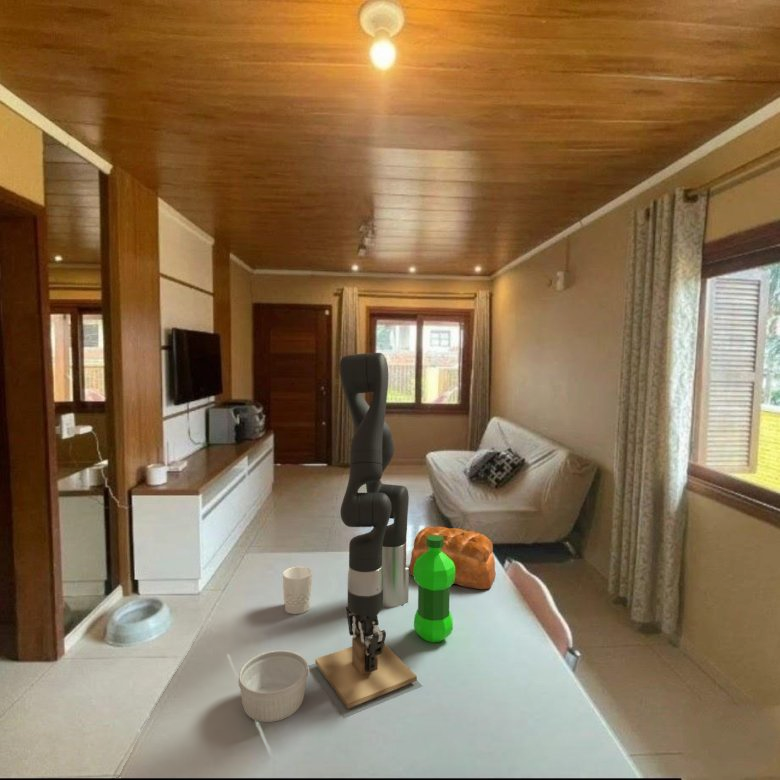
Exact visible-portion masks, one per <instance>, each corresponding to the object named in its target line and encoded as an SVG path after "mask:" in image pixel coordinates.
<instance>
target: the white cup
mask: <svg viewBox="0 0 780 780" xmlns="http://www.w3.org/2000/svg"><path fill="white" fill-rule="evenodd" d="M312 581H313V571H312V569H311V568H310V567H307V566H293V567H289V568H287V569H285V570H284V571H283V573H282V583H283V585H282V586H283V587H282V589H283V600H284V611H285V612H286V613H288V614H292V615H301V614H305V613H306V612H307V611H309V609H310V608H311V597H312V585H313V584H312Z"/></svg>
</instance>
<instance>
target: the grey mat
mask: <svg viewBox="0 0 780 780" xmlns="http://www.w3.org/2000/svg"><path fill="white" fill-rule="evenodd" d="M308 669H309V670H311V672H312V674H313V675H314V676H315V678H316V679H317V680H318V683H319V684H320V685H321V687H322V688H323V689H324V691H325V693H326V694H327V696H328V697H329V699H330V700H331V702H332V703H333V705H334V706H335V707H336V709H337V710H338V712H339V713H340V714H341V716H342V718H344V719H345V718H348V717H351V716H353V715H355V714H357V713H360V712H362V711H365V710H368V709H370V708H373V707H375V706H378V705H380V704H383V703H385V702H387V701H389V700H392V699H394V698H397V697H399V696H402V695H404V694H407V693H409V692H411V691H413V690H416V689H419V688H421V687H423V685H422V684H421V683H420V682H419V681H418V680H417V681H415V682H412V683H410V684H407V685H405V686H403V687H400V688H398V689H395V690H393V691H390V692H388V693H385V694H383V695H380V696H378V697H376V698H373V699H371V700H368V701H366V702H363V703H361V704H358V705H356V706H353V707H351V708H348V709H347V707H346V706H345V704H344V703H343V702H342V700H341V699H340V697H339V696H338V695H337V693H336V692H335V690H334V689H333V688H332V686H331V685H330V683H329V682H328V680H327V679H326V678H325V676H324V675H323V673H322V672H321V671H320V669H319V668H318V666H317V665H316V664H315V663H312V664H310V665H309V664H308Z"/></svg>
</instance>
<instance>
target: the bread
mask: <svg viewBox="0 0 780 780" xmlns="http://www.w3.org/2000/svg"><path fill="white" fill-rule="evenodd" d="M429 535H440V536H442V537H443V547H441V551H442V552H443V553H444V554H445V555H447V556H448V557H449V558H450V559H451V560H452V561H453V563H454V565H455V580H454V583H453V584H454V585H455V584H456V585H458V586H461V587H465V588H470V589H477V590H488V589H490V588H492V585H493V583H494V581H495V579H496V575H497V573H496V570H495V568H496V561H495V556H494V553H493V551H494V545H493V542H492V541H491V540H490V539H489V538H488V536H486V535H485V534H483V533H482V534H481V533H480V532H478V531H475V530H465V529H461V528H457V527H456V528H455V527H452V528H448V527H445V526H434V527H433V526H426V527H424V528H422V529H420V531H419V532H418V533H417V534H416V535H415V538H414V540H413V547H412V551H411V555H410V556H411V557H410V563H409V575H412V577H414V575H413V572H414V564H415V562H416V559H418V558H419V557H420V556H421V555H422V554H424V553H425V552H427V551H428V548H429V547H428V546H426V541H427V536H429ZM453 584H452V585H453Z"/></svg>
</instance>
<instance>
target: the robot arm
mask: <svg viewBox="0 0 780 780" xmlns="http://www.w3.org/2000/svg"><path fill="white" fill-rule="evenodd" d="M338 367H339V370H338V371H339V377H340V381H341V386H342V390H343V393H344V396H345V399H346V401H347V406H348V408H349V412H350V415H351V420H352V424H353V429H354V434H353V436H352V439H351V443H350V450H349V451H350V452H349V453H350V454H349V455H350V456H349V457H350V458H349V477H348V482H347V485H346V491H345V492H344V496H343V499H342V503H341V507H340V519H341V521H342V523H343V524H344V525H345V526H346V527H348V528H372V529H371V531H368V532H366V533H362V534H360V535H355V536H354V537H352V538H350V541H349V544H348V571H347V572H348V573H347V606H345V607H346V608H345V609H346V610H345V611H346V617H347V626H348V633H349V635H350V636H352V638H355V637H358V636H361V642H362V643H363V644H364V650H365V671H366V672H370V671H372V670H374V669H375V656H377V655H380V654H382V650H383V646H384V644H385V641H386V636H387V634H386V630H385V629H383V630H381V629H380V627H379V619H378V618H379V617H378V614H379V613H380V612H381V610H382V609H383V608H390V609H391V608H398V607H400V606H403V605H404V604H405V603H406V602H407V603H408V602H409V587H410V585H409V583H410V576H409V575H410V573H409V571H410V567H408V566H407V535H408V533H407V532H408V518H409V517H408V514H409V503H410V502H409V499H410V498H409V497H410V495H409V490H408V488H407V486H404V485H397V484H387V483H383V482H382V481H381V479H382V476H383V473H384V471H385V470H386V469H387V467H388V466H389V464H390V463H391V462H392V459H393V458H394V453H395V446H394V444H395V443H394V439H393V434H392V433H393V432H392V430H391V427H390V426H389V424H388V423H387V421H386V420H385V417H386V409H387V401H388V399H387V398H388V391H389V390H388V389H389V379H390V377H389V366H388V361H387V358H386V357H385V354H383V353H382V352H367V353H366V352H365V353H355V354H347V355H344V356H343V357H342V358H341V359H340V361H339V366H338ZM364 393H365V394H366V393H372V399H371V403H370V405H369V404H368V402H367V401H366V399H365V398H364V395H363V394H364ZM364 485H365V488H366V492H358V491H359V489H361V487H362V486H364ZM390 519H393V523H391V524H389V522H390ZM388 524H389V525H388ZM368 636H371V637H368ZM366 637H368V638H366ZM369 643H371V645H370V648H369Z"/></svg>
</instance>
